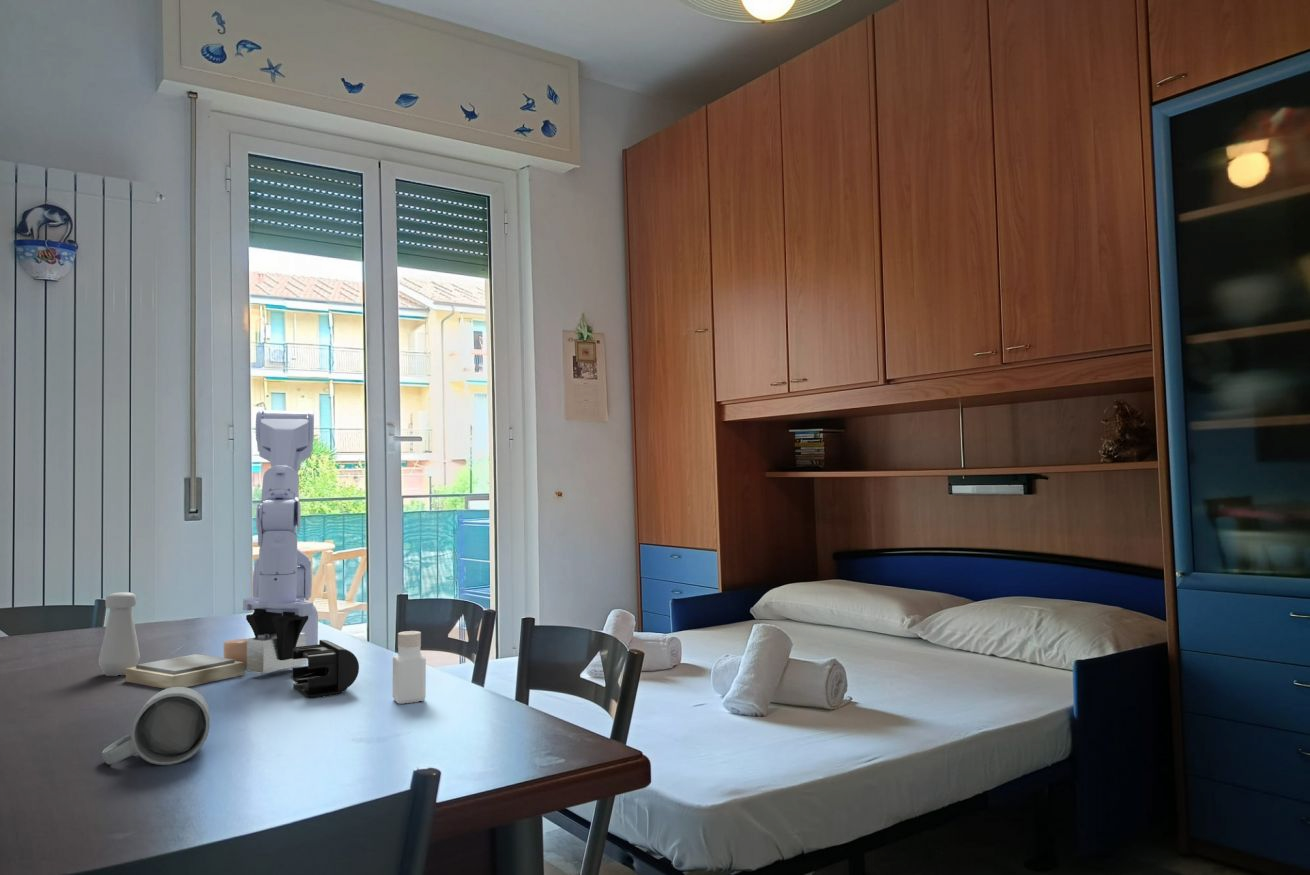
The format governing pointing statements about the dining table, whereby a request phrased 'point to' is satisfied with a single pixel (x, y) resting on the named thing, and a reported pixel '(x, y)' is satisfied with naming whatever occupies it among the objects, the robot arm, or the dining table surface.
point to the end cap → (324, 670)
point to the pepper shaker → (409, 669)
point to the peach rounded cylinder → (236, 650)
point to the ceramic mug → (165, 729)
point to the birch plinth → (184, 671)
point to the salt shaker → (119, 636)
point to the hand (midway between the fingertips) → (276, 657)
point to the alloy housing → (269, 654)
